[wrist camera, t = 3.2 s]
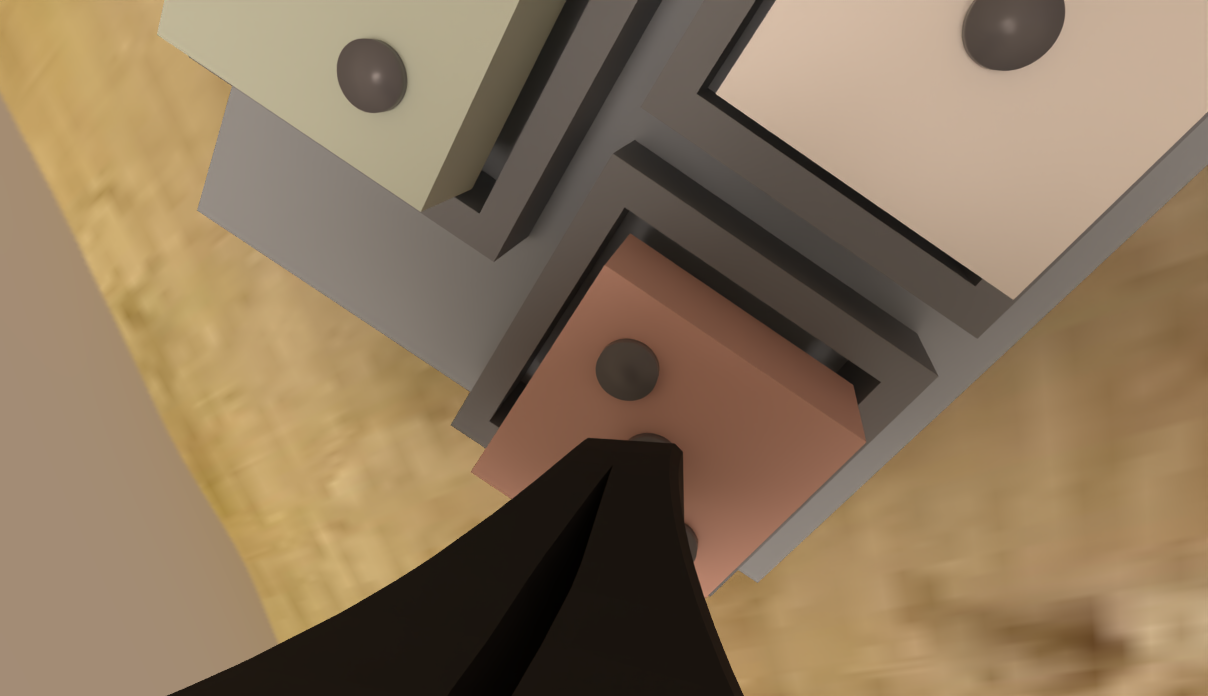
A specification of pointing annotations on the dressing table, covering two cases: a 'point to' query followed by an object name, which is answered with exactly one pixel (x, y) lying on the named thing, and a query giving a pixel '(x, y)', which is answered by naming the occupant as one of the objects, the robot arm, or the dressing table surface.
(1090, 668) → the dressing table surface
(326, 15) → the tile sage
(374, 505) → the dressing table surface
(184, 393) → the dressing table surface
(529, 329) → the stacking puzzle board
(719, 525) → the tile coral
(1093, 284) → the dressing table surface
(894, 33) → the tile ivory
